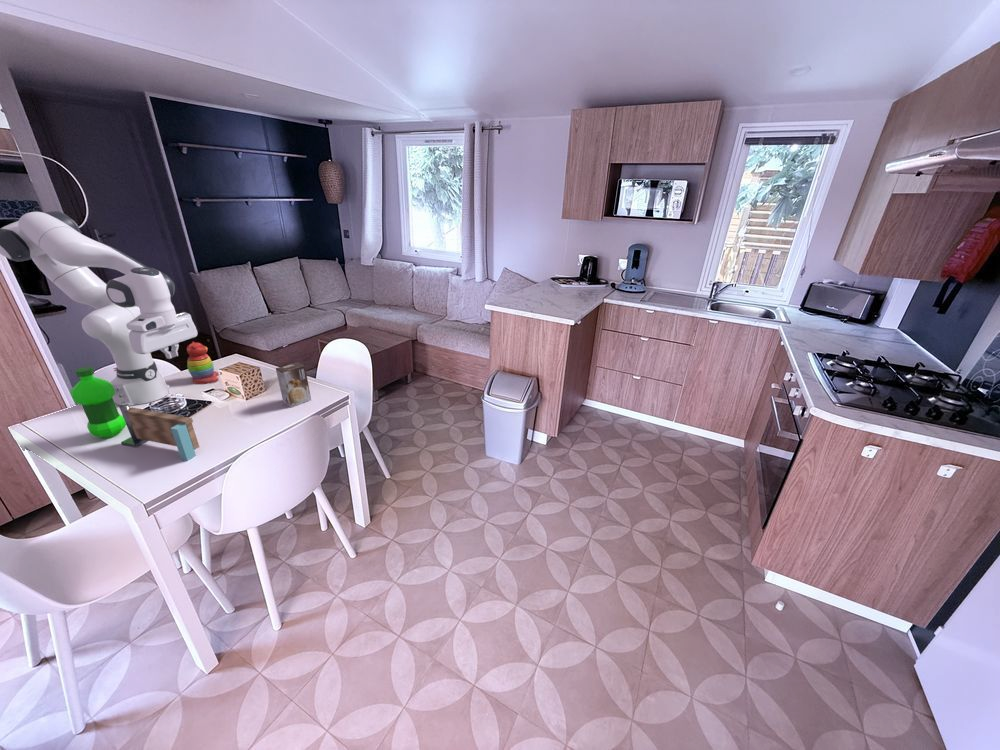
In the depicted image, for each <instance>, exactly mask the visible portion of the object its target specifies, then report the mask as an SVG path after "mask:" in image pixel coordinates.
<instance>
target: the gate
mask: <svg viewBox="0 0 1000 750" xmlns="http://www.w3.org/2000/svg"><path fill="white" fill-rule="evenodd" d="M125 414H126V415H128V417H129V419H130V422H131V425H132V427H133V430H134V432H135V435H136V437H137V439H142V440H147V442H151V443H152V442H153V443H158V444H164V445H168V446H174V447H177V445H176V442H175V439H174V436H173V434H172V431H171V428H172V427H174V426H176V425H178V424H179V423H180V424H186V427H187V430H188V433H189V436H190V439H191V442H192V445H193V448H194V451H196V450H197V449H198V448H200V443H199V442H198V438H197V437H198V436H197V435H196V431H195V428H194V425H193V423H194V420H193V417H187V416H184V415H183V416H181V415H175V414H171V413H166V412H160V411H154V410H149V409H143V408H137V407H130V408H129V409H127V410H125Z"/></svg>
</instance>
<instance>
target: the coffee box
mask: <svg viewBox="0 0 1000 750" xmlns="http://www.w3.org/2000/svg"><path fill="white" fill-rule="evenodd" d="M275 371H276V375H277V381H278V384H279V389H280V392H281V394H280V395H281V398H282V403H283V404H285V406H288V407H289V408H294V407H297V406H299V405H302V404H304V403H306V402H309V400H310V401H312V396H311V391H310V386H309V381H308V375H307V371H306V366H305V365H304V364H302V363H300V362H298V361H297V362H293V363H292V362H291V363H290V364H286V365H282V366H279V367H276V368H275ZM301 403H302V404H301ZM293 406H294V407H293Z"/></svg>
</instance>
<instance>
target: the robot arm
mask: <svg viewBox="0 0 1000 750" xmlns="http://www.w3.org/2000/svg"><path fill="white" fill-rule="evenodd" d="M0 255H2V256H3V257H5V258H6V259H9V260H10V261H14V262H24V261H30V260H32V261H33V263H34V265H36V267H37V269H38V270H39V271H40V272H42V274H43V275H44V276H45V277H46V278H47V279H48V280H50V282H51V283H53V284H54V285H55V286H56V287H57V288H58V289H59V290H61V291H62V292H63V293H64V294H65V295H66V296H68V297H69V298H70V299H71V300H72V301H74V302H76V303H78V304H83V305H85V306H86V305H87V306H89V307H92V308H94V309H95V310H92V311H91V312H90V313H88V314H87V315H86V316H85V317H83V319H82V320H81V328H82V330H83V331H84V333H86V335H88V336H89V337H90V338H93V339H96V340H98V341H99V342H102V343H103V344H104V345H105V346H106V348H107V349H108V351H109V352H110V354H111V356H112V358H113V361H114V362H115V365H116V367H114V368H113V372H116V376H115V377H114V378H113V379H112V380H111V381H109V382H110V383H111V384H112V386H113V387H114V390H115V394H114V396H113V397H112V398H113V400H114V403H115V405H116V406H117V405H118V406H121V405H124V404H129V406H130V407H131V406H134V405H135V406H136V405H144V404H149V403H152V402H155V401H159V400H161V399H163V398H164V397H165V398H166V396H167V395H168V394H169V392H170V391H169V389H170V388H171V387H170V385H169V384H167V383H166V381H165V378H164V377H163V374H162V372H161V371H159V369H158V365H157V364H156V362H155V361H154V359H153V357H152V353H153V352H156V351H161V352H162V353H163V354H164V355H165V358H166V359H168V360H170V359H173V358H177V357H179V352H178V351H179V346H180V345H179V343H181V342H185V341H187V340H190V339H195V338H196V337H197V336H198V329H197V326H196V325H195V323H194V321H193V319H192V315H191V314H190V313H189V312H186V311H182V312H180V313H177V312H176V309H175V306H174V304H173V303H172V298H173V296H174V295H175V292H176V285H175V283H174V281H173V280H172V278H170V277H169V276H168V275H167V274H165V273H164V272H162V271H160V270H158V269H156V268H153V267H149V266H147V265H145V264H143V263H142V262H140V261H138V260H136V259H135V258H133V257H131V256H129V255H128V254H126V253H125V252H122V251H120V250H119V249H117V248H114V247H113V246H111V245H108V244H105V243H103V242H99V241H97V240H94V239H93V238H90V237H88V236H86V235H84V234H82V231H81V229H80V228H79V225H78V224H77V223H76V221H74V220H73V219H72V218H71V217H70V216H68V215H67V214H66V213H63V212H61V211H58V210H52V211H44V212H42V211H31V212H27V213H24V214H23V215H21V217H20V218H19V220H18V221H14V222H12V223H9V224H7V225H4V226H2V227H0ZM90 268H106V269H111V270H116V271H118V272H120V273H121V274H123V275H122V276H119V277H116V278H113V279H109V280H108V282H104V280H102V279H101V278H100V277H99V276H98V275H96V274H95V273H94V272H93V271H92V269H90ZM169 347H171V351H169Z"/></svg>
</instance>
